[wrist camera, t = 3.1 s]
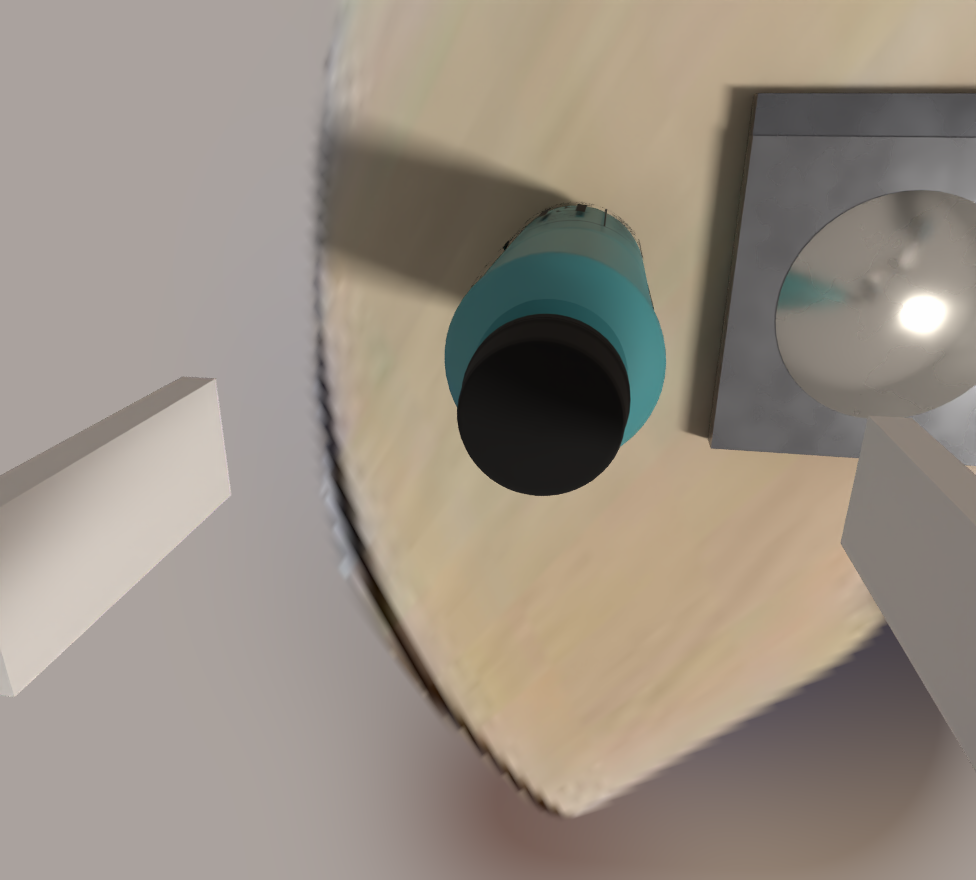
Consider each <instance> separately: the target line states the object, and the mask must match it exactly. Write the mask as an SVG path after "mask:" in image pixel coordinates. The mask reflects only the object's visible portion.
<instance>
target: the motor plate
mask: <svg viewBox="0 0 976 880" xmlns="http://www.w3.org/2000/svg"><path fill="white" fill-rule="evenodd" d="M868 416H885V417H902V418H912V419H913V420H914V421H915V422H917V423H918V424H919V425H920V426H921V427H922V428H923V429H924V430H926V431H927V432H928V433H929V434H930V435H931V436H932V437H933V438H935V439H936V440H937V441H938V442H939V443H940V444H941V445H942V446H944V447H945V448H946V449H947V450H948V451H949V452H950V453H951V454H953V455H954V456H955V457H956V458H957V459H958V460H959V461H960V462H962V463H963V464H964V465H970V466H976V94H966V93H758V94H754V97H753V105H752V112H751V120H750V127H749V135H748V142H747V150H746V157H745V164H744V172H743V179H742V187H741V194H740V202H739V209H738V217H737V224H736V232H735V239H734V247H733V254H732V262H731V269H730V277H729V284H728V292H727V299H726V307H725V314H724V322H723V329H722V337H721V344H720V352H719V359H718V367H717V374H716V382H715V389H714V397H713V404H712V412H711V419H710V427H709V434H708V441H709V444H710V447H711V448H714V449H729V450H744V451H759V452H774V453H789V454H804V455H819V456H834V457H849V458H859V456H860V452H861V447H862V442H863V438H864V433H865V429H866V424H867V419H868Z"/></svg>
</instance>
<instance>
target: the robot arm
mask: <svg viewBox="0 0 976 880" xmlns="http://www.w3.org/2000/svg"><path fill="white" fill-rule="evenodd" d="M230 496H231V488H230V481H229V473H228V467H227V459H226V452H225V444H224V436H223V429H222V421H221V414H220V407H219V399H218V392H217V384H216V379H215V378H198V377H181V378H179V379H177V380H175V381H173V382H172V383H169V384H168V385H166V386H164V387H162V388H160V389H158V390H157V391H155V392H153V393H151V394H149V395H147V396H146V397H144V398H142V399H140V400H138V401H136V402H134V403H133V404H131V405H129V406H127V407H126V408H123V409H122V410H120V411H118V412H116V413H114V414H112V415H111V416H109V417H107V418H105V419H103V420H101V421H100V422H98V423H96V424H94V425H92V426H90V427H89V428H87V429H85V430H83V431H81V432H79V433H78V434H76V435H74V436H72V437H70V438H68V439H66V440H65V441H63V442H61V443H59V444H57V445H55V446H54V447H52V448H50V449H48V450H46V451H44V452H43V453H41V454H39V455H37V456H35V457H33V458H31V459H30V460H28V461H26V462H24V463H22V464H20V465H19V466H17V467H15V468H13V469H11V470H9V471H8V472H6V473H4V474H2V475H0V695H2V696H11V697H15V696H16V695H17V694H18V693H19V692H20V691H21V690H22V689H24V688H25V687H26V686H27V685H28V684H29V683H30V682H31V681H32V680H33V679H34V678H35V677H37V676H38V675H39V674H40V673H41V672H42V671H43V670H44V669H45V668H46V667H47V666H48V665H49V664H50V663H51V662H53V661H54V660H55V659H56V658H57V657H58V656H59V655H60V654H61V653H62V652H63V651H64V650H65V649H67V647H69V646H70V645H71V644H72V643H73V642H74V641H75V640H76V639H77V638H78V637H79V636H81V635H82V634H83V633H84V631H86V630H87V629H88V628H89V627H90V626H91V625H92V624H93V623H95V622H96V621H97V620H98V619H99V618H100V617H101V616H102V615H103V614H104V613H105V612H106V611H107V610H108V609H110V608H111V607H112V606H113V605H114V604H115V603H116V602H117V601H118V600H119V599H120V598H121V597H122V596H123V595H125V594H126V593H127V592H128V591H129V590H130V589H131V588H132V587H133V586H134V585H135V584H136V583H137V582H139V580H141V579H142V578H143V577H144V576H145V575H146V574H147V573H148V572H149V571H150V570H151V569H152V568H154V566H156V565H157V564H158V563H159V562H160V561H161V560H162V559H163V558H164V557H165V556H166V555H168V554H169V553H170V552H171V551H172V550H173V549H174V548H175V547H176V546H177V545H178V544H179V543H180V542H181V541H183V540H184V539H185V538H186V537H187V536H188V535H189V534H190V533H191V532H192V531H193V530H194V529H195V528H197V527H198V526H199V525H200V524H201V523H202V522H203V521H204V520H205V519H206V518H207V517H208V516H209V515H210V514H212V513H213V512H214V511H215V510H216V509H217V508H218V507H219V506H220V505H221V504H222V503H223V502H224V501H225V500H226V499H228V498H229V497H230ZM841 545H842V546H843V548H844V550H845V552H846V553H847V555H848V557H849V558H850V560H851V562H852V563H853V565H854V567H855V568H856V570H857V572H858V574H859V575H860V577H861V579H862V580H863V582H864V584H865V585H866V587H867V589H868V590H869V592H870V594H871V595H872V597H873V599H874V601H875V602H876V604H877V606H878V607H879V609H880V611H881V612H882V614H883V616H884V617H885V619H886V621H887V623H888V624H889V626H890V628H891V629H892V631H893V632H894V634H895V636H896V638H897V639H898V641H899V643H900V644H901V646H902V648H903V650H904V651H905V653H906V655H907V656H908V658H909V660H910V661H911V663H912V665H913V666H914V668H915V670H916V671H917V673H918V675H919V677H920V678H921V680H922V682H923V683H924V685H925V687H926V688H927V690H928V692H929V693H930V695H931V697H932V699H933V700H934V702H935V703H936V705H937V707H938V709H939V710H940V712H941V714H942V715H943V717H944V719H945V720H946V722H947V724H948V725H949V727H950V729H951V731H952V732H953V734H954V736H955V737H956V739H957V741H958V742H959V744H960V746H961V747H962V749H963V751H964V753H965V754H966V756H967V758H968V759H969V761H970V763H971V764H972V766H973V768H974V770H975V771H976V475H975V474H974V473H973V472H972V471H971V470H969V469H968V468H967V467H966V466H965V465H964V464H963V463H962V462H960V461H959V460H958V459H957V458H956V457H955V456H954V455H953V454H951V453H950V452H949V451H948V450H947V449H946V448H945V447H944V446H942V445H941V444H940V443H939V442H938V441H937V440H936V439H935V438H933V437H932V436H931V435H930V434H929V433H928V432H927V431H926V430H924V429H923V428H922V427H921V426H920V425H919V424H918V423H917V422H915V421H914V420H913V419H912V418H902V417H885V416H868V419H867V424H866V429H865V433H864V438H863V442H862V447H861V452H860V456H859V461H858V465H857V470H856V475H855V479H854V484H853V488H852V493H851V498H850V502H849V507H848V511H847V516H846V520H845V525H844V530H843V534H842V539H841Z"/></svg>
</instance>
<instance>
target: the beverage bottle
mask: <svg viewBox="0 0 976 880" xmlns="http://www.w3.org/2000/svg"><path fill="white" fill-rule="evenodd" d="M567 203H568V202H567ZM581 203H582V204H583V202H581ZM568 204H569V203H568ZM582 204H578V205H577V206H565V207H559V208H556V209H553V210H550V209H551V207H550V208H549V209H547V210H546V209H545V211H542V213H541V212H540V213H541V214H540V215H539V216H538V217H537V218H536V219H534V220H532V222H531V223H530V224H528V225H527V226H526V228H525V229H524V230H522V232H521V233H520V234H519V232H518V233H517V234H519V235H518V236H517V238H516V239H515V240H514V241H513V242H512V243H511V244H510V245H508V244H509V240H508V241H507V242H506V244H505V246H504V247H503V249H504V250H505V249H506V250H505V251H504V252H503V253H502V255H501V256H500V257H499V258H498V259H497V260H496V261H495V262H494V264H493V265H492V266H491V267H490V268H489V270H488V271H487V272H486V274H485V275H484V276H483V277H482V278H481V279H480V280H479V281H478V282H477V283H476V284H475V285H474V286H473V287H471V289H470V290H469V292H468V293H467V294H466V295H465V297H464V298H463V299H462V301H461V303H460V304H459V306H458V308H457V310H456V311H455V314H454V316H453V318H452V321H451V323H450V326H449V330H448V333H447V338H446V345H445V370H446V377H447V381H448V385H449V389H450V392H451V395H452V397H453V400H454V402H455V404H456V406H457V421H458V428H459V432H460V435H461V439H462V441H463V444H464V446H465V448H466V450H467V452H468V454H469V455H470V457H471V459H472V460H473V461H474V463H475V464H476V465H477V466H478V467H479V468H480V469H481V471H482V472H483V473H485V474H486V475H487V476H488V477H489V478H490V479H492V480H493V481H495V482H496V483H498V484H499V485H501V486H503V487H505V488H507V489H510V490H513V491H515V492H519V493H523V494H528V495H535V496H550V495H558V494H563V493H567V492H570V491H573V490H576V489H578V488H580V487H582V486H584V485H586V484H588V483H589V482H591V481H592V480H594V479H595V478H596V477H597V476H598V475H600V474H601V473H602V472H603V471H604V470H605V469H606V468H607V467H608V466H609V464H610V463H611V462H612V460H613V459H614V457H615V456H616V454H617V452H618V450H619V448H620V446H622V445H623V444H624V443H626V442H627V441H628V440H629V439H630V438H632V437H633V436H634V435H635V434H636V433H637V432H638V431H639V429H640V428H641V427H642V426H643V425H644V423H645V422H646V421H647V419H648V418H649V416H650V415H651V413H652V411H653V409H654V408H655V406H656V404H657V401H658V399H659V396H660V394H661V391H662V387H663V382H664V378H665V369H666V351H665V344H664V338H663V334H662V330H661V327H660V324H659V321H658V318H657V316H656V314H655V312H654V310H653V309H654V307H653V306H652V305H653V303H651V301H652V299H650V297H651V295H649V293H650V291H649V287H648V284H647V279H646V274H645V269H644V264H643V259H642V258H643V256H641V255H642V252H640V250H641V247H640V249H639V247H638V245H637V243H638V242H637V243H636V241H635V240H636V239H634V238H633V236H632V234H633V233H632V234H631V233H630V232H633V231H630V232H629V231H628V230H627V229H628V228H627V227H625V225H626V224H625V223H624V222H623V223H624V224H625V225H624V224H623V223H621V222H622V221H618V220H617V219H618V218H619V217H618V218H617V219H615V218H614V216H611V215H609V214H607V209H605V212H603V211H601V210H598V209H596V208H591V207H587V206H589V205H590V203H589V205H582ZM560 205H562V203H561V204H560ZM593 205H594V204H593ZM556 206H557V205H556ZM553 207H554V206H553ZM602 208H603V207H602ZM549 210H550V211H549ZM537 214H538V213H537ZM614 214H615V213H614ZM614 214H612V215H614ZM534 216H535V215H534ZM616 217H617V216H616ZM619 220H622V218H621V219H619ZM527 221H528V220H527ZM628 227H629V226H628ZM523 228H524V227H523ZM523 228H522V229H523ZM629 229H630V230H632V229H631V227H630V228H629ZM519 231H520V230H519ZM634 233H635V232H634ZM514 235H515V234H514ZM514 235H513V236H514ZM633 235H635V234H633ZM512 238H513V237H512ZM638 240H639V239H638ZM507 245H508V246H509V247H508V246H507ZM639 245H640V242H639ZM506 247H508V248H506ZM500 250H501V249H500ZM498 252H499V251H498ZM488 263H489V262H488ZM486 266H487V265H486ZM479 274H480V273H479ZM476 279H477V278H476ZM473 284H474V283H473Z"/></svg>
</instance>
